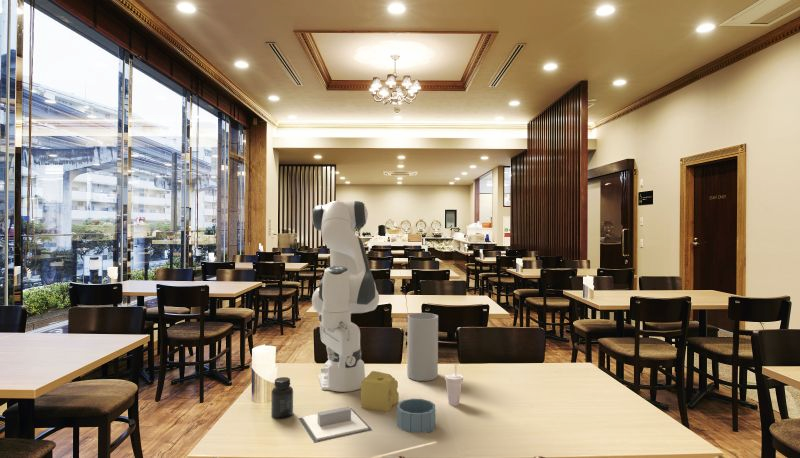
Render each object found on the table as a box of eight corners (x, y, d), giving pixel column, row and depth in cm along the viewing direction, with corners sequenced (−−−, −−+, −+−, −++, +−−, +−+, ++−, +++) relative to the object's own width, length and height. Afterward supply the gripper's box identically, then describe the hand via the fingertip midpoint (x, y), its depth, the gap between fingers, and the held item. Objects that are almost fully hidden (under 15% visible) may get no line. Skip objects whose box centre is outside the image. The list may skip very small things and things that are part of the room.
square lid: (302, 418, 144) (302, 406, 144) (349, 409, 151) (349, 397, 151) (316, 440, 130) (316, 426, 130) (368, 429, 137) (368, 415, 137)
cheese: (398, 401, 160) (398, 373, 160) (388, 414, 150) (388, 384, 149) (371, 398, 163) (371, 370, 163) (359, 409, 153) (359, 380, 153)
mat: (298, 419, 144) (298, 418, 144) (351, 409, 153) (351, 408, 153) (314, 444, 128) (314, 442, 128) (372, 431, 137) (372, 430, 137)
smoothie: (462, 408, 155) (462, 367, 154) (443, 406, 156) (443, 366, 156) (463, 400, 161) (463, 361, 161) (445, 399, 162) (445, 360, 162)
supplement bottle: (270, 413, 149) (270, 377, 149) (291, 410, 152) (291, 374, 151) (272, 422, 143) (273, 384, 142) (294, 418, 145) (294, 381, 145)
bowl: (391, 421, 144) (391, 402, 144) (423, 414, 149) (423, 396, 149) (408, 437, 133) (408, 417, 133) (442, 429, 139) (442, 409, 139)
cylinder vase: (418, 369, 195) (418, 311, 194) (443, 375, 187) (443, 315, 187) (401, 377, 185) (401, 316, 184) (427, 384, 177) (427, 320, 177)
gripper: (358, 324, 132) (358, 372, 133) (334, 312, 150) (334, 354, 151) (338, 327, 129) (338, 375, 130) (316, 314, 147) (316, 356, 148)
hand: (336, 363), depth 140 cm, fingers open, 8 cm apart
